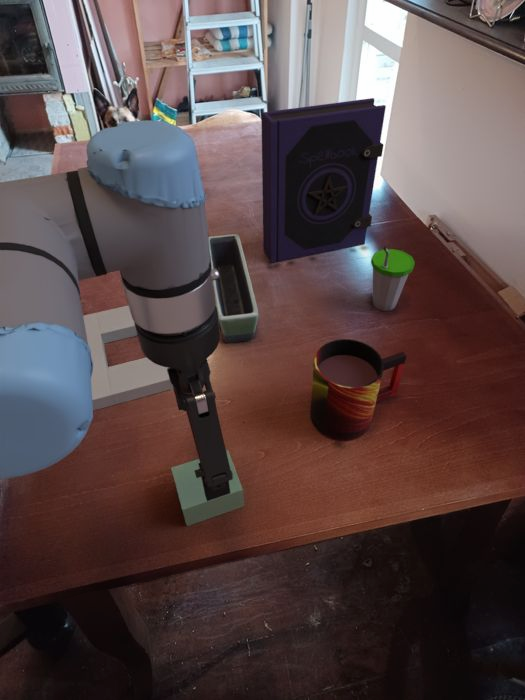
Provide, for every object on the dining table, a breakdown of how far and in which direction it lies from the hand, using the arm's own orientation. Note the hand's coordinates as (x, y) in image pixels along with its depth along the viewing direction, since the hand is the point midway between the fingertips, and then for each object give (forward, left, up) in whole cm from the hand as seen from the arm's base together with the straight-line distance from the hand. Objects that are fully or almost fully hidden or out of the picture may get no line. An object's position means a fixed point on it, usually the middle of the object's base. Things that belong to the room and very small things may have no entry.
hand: (202, 446), depth 58 cm
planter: (+16, +40, -12) cm, 45 cm away
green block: (0, 0, -12) cm, 12 cm away
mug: (+25, +7, -12) cm, 28 cm away
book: (+40, +52, -12) cm, 67 cm away
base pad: (-5, +32, -12) cm, 34 cm away
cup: (+44, +28, -12) cm, 53 cm away
